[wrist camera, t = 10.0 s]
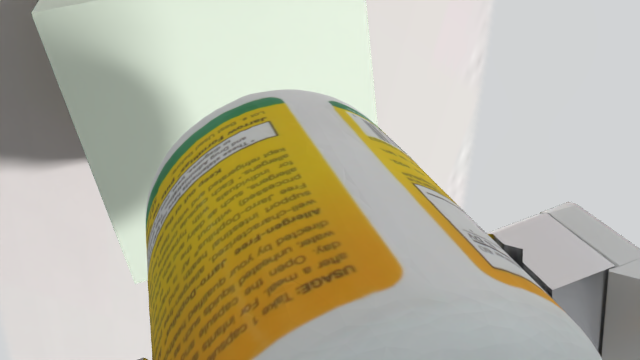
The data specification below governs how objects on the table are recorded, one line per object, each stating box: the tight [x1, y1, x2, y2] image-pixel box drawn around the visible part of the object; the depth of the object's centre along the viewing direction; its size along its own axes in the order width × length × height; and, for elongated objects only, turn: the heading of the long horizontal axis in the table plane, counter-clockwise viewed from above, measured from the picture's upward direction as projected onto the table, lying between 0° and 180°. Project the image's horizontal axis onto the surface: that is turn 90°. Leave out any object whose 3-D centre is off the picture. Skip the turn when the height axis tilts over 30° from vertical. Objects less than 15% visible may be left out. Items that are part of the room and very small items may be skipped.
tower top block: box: [31, 0, 378, 284], centre depth 18 cm, size 8×8×5 cm
